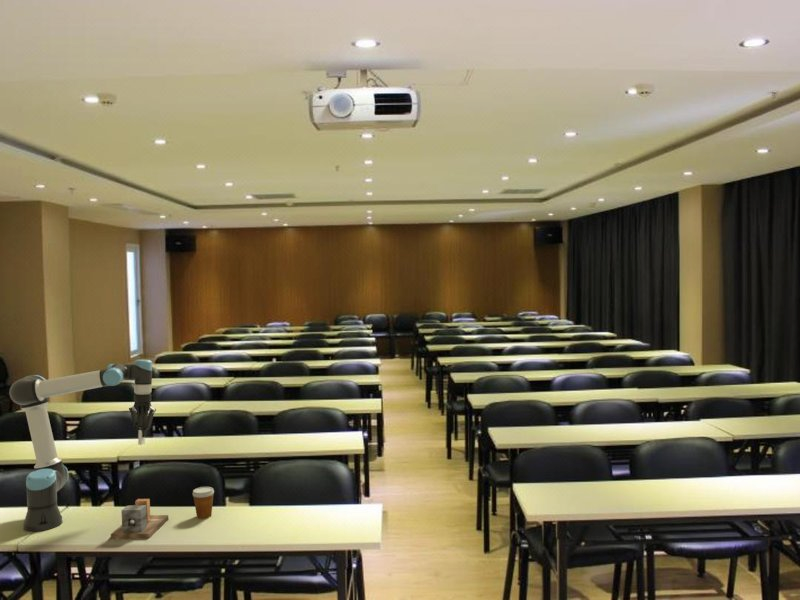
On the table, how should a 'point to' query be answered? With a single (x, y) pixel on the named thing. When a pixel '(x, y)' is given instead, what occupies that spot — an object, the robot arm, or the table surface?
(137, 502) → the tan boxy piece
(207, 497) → the disposable coffee cup
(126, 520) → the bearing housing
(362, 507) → the table surface
